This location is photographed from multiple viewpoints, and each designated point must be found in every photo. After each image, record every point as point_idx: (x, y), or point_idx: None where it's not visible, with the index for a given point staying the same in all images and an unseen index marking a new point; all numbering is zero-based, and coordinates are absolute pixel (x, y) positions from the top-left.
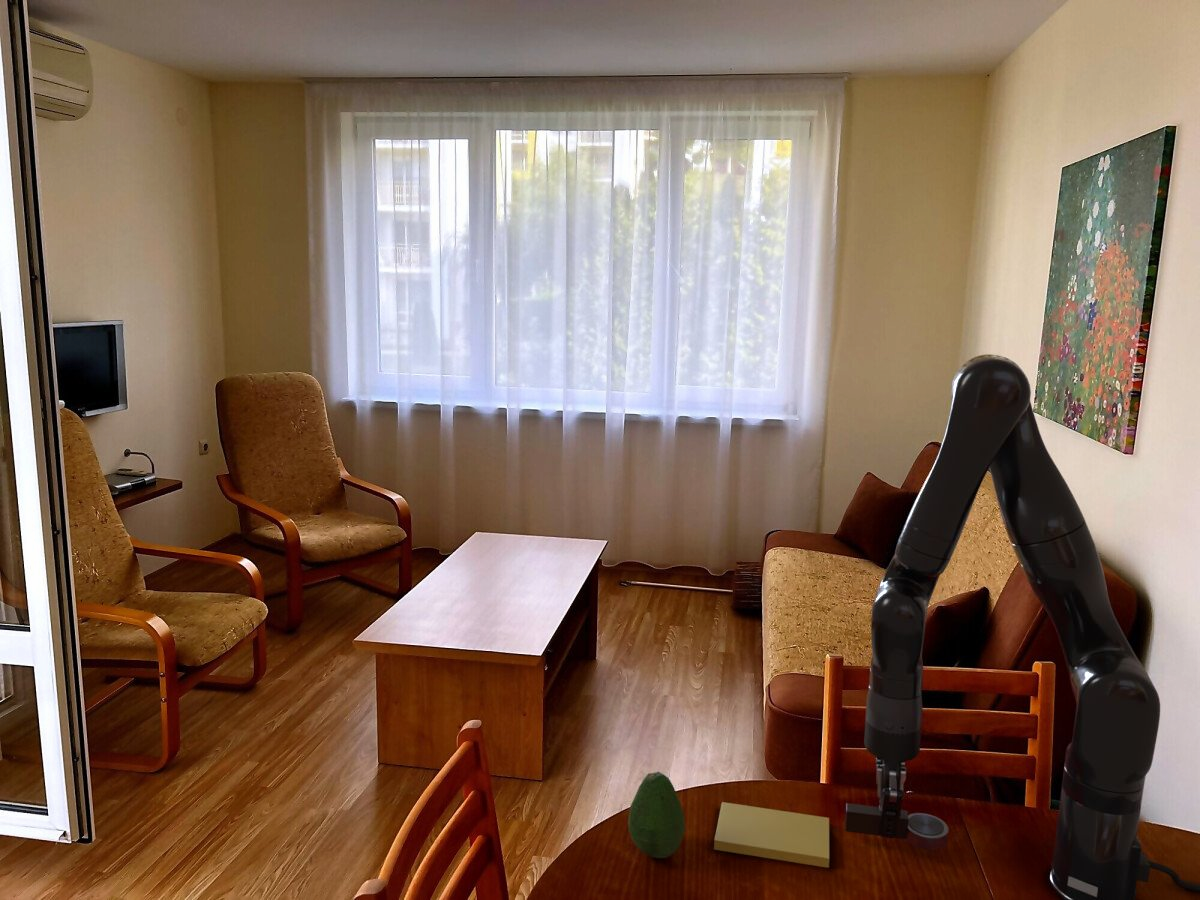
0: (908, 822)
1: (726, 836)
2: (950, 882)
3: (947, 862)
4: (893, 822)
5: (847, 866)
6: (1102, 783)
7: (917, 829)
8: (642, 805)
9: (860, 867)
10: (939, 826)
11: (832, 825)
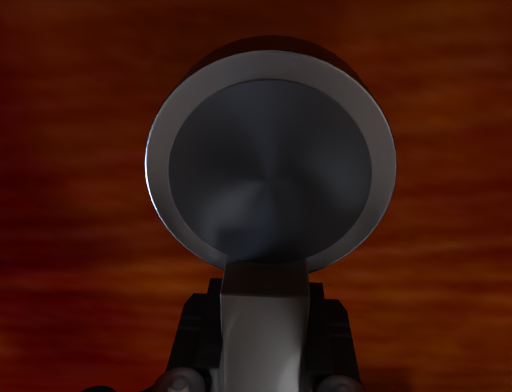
0: (270, 263)
1: None
2: (469, 30)
3: (317, 21)
4: (356, 363)
5: (397, 359)
6: None
7: (332, 231)
8: None
9: (398, 329)
10: (277, 108)
11: None
